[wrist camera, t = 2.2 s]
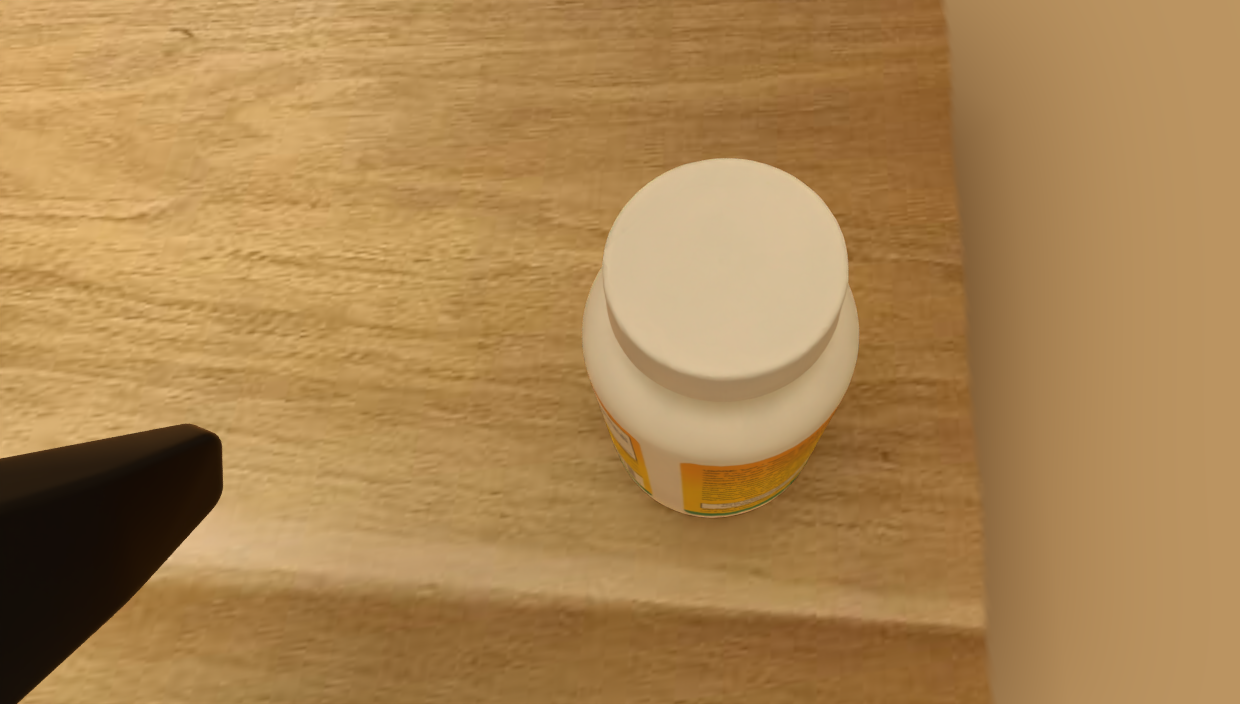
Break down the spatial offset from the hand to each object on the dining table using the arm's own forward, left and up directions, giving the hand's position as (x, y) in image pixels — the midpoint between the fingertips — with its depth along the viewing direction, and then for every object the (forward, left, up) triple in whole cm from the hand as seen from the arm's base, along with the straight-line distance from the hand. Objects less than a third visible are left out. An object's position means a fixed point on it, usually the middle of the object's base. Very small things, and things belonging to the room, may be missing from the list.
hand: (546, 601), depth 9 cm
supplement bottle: (+5, -3, -12) cm, 14 cm away
